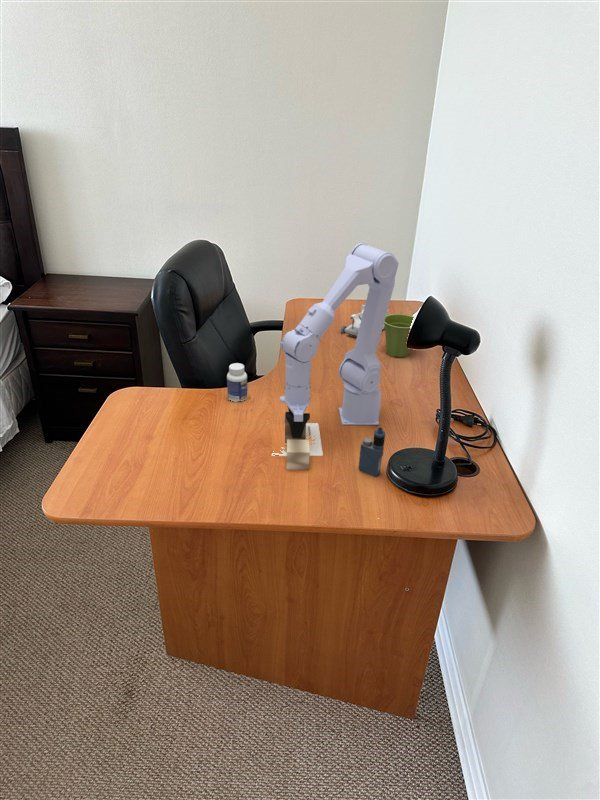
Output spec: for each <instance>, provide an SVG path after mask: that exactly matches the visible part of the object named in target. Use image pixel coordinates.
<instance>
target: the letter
mask: <svg viewBox="0 0 600 800" xmlns="http://www.w3.org/2000/svg"><path fill="white" fill-rule="evenodd" d="M308 433H309V434H308ZM310 435H311V437H310V438H311V440H313V439H315V438H316V439H315V441H310V442H312V443H310V442H309V443H310V444H312V445H310V444H309V450H310V456H309V457H312V456H313V457H315V456H316V457H317V456H318V457H320V456H321V457H322V456H324V453H323V452H324V451H323V446H322V440H321V434H320V425H319V423H318V422H307V423H306V437H308V436H310ZM314 436H315V437H314ZM310 438H306V440H307V439H310ZM313 443H315V444H313ZM285 446H286V447H287V445H285ZM281 448H282V449H285V450H287V448H284V447H281ZM280 451H281V450H280ZM273 452H274V451H273ZM281 452H282V453H283V454H279V453H272V454H271V457H276V456H275V455H279V456H278V457H287V451H284V450H283V451H281ZM273 454H275V455H273Z"/></svg>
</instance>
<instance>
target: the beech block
mask: <svg viewBox="0 0 600 800" xmlns="http://www.w3.org/2000/svg"><path fill="white" fill-rule="evenodd" d="M310 457H311V456H310V450H309V440H294V439H287V456H286V470H287V471H289V470H294V471H295V470H296V471H297V470H298V471H300V470H302V471H308V470H309V469H310Z"/></svg>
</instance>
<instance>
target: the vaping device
mask: <svg viewBox="0 0 600 800" xmlns="http://www.w3.org/2000/svg"><path fill="white" fill-rule="evenodd" d="M385 438H386V431H385V430H384V428H382V427H378V428H377V429H376V430H374V433H373V438H371V437H364V438H363V440H362V442H361V444H360V448H359V449H360V450H359V460H358V461H359V462H358V469H359V471H360V472H362V473H364V474H366V475H369V476H372V477H375V478H376V477H378V476H379V475H380V473H381V467H382V458H383V455H384V450H385Z"/></svg>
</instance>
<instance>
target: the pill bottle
mask: <svg viewBox="0 0 600 800" xmlns="http://www.w3.org/2000/svg"><path fill="white" fill-rule="evenodd" d="M226 386H227V387H226V388H227V399H228V401H230V400H231V401H230V402H232V401H234V402H233V403H238V402H237V401H243V400H245V399H246V400H247V399H248V374H247V373H246V371H245V365H244V364H243V363H239V362H235V363H231V364H230V365H229V366H228V372H227V374H226ZM246 400H245V401H246ZM243 402H244V401H243Z"/></svg>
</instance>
